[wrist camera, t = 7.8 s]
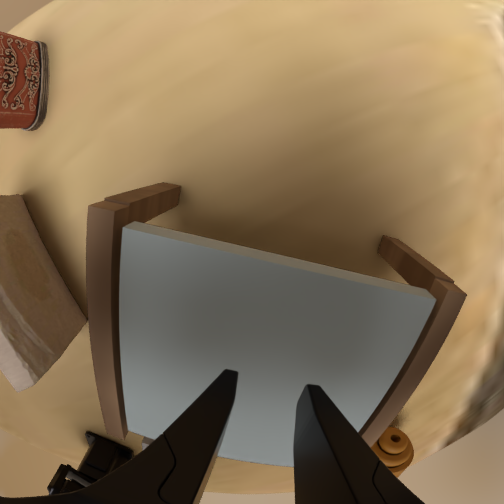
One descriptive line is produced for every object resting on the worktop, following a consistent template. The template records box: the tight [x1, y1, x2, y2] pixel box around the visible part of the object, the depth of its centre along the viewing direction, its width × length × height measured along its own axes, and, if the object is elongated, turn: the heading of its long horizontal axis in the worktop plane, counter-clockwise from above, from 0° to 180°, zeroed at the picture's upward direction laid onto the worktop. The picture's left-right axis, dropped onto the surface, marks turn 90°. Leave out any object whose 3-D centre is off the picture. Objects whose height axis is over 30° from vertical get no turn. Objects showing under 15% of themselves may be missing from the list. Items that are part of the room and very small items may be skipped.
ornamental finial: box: [371, 426, 414, 477], centre depth 19 cm, size 8×8×8 cm
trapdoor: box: [119, 221, 436, 467], centre depth 12 cm, size 12×12×1 cm
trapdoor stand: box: [86, 183, 467, 448], centre depth 15 cm, size 15×14×8 cm
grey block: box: [0, 194, 87, 392], centre depth 14 cm, size 12×4×10 cm, turn 26°
